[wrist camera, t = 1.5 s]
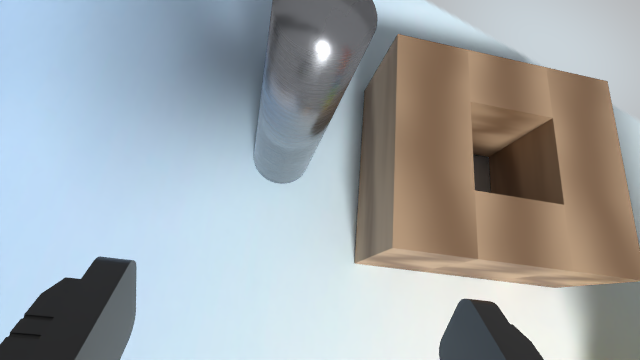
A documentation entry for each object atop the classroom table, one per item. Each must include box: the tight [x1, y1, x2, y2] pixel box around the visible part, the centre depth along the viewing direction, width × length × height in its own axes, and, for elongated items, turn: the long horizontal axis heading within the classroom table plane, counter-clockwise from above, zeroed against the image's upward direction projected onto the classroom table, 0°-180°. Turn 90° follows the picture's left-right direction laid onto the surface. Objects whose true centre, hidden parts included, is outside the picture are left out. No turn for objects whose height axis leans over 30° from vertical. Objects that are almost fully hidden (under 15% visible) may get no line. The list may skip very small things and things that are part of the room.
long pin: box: [254, 0, 377, 183], centre depth 21 cm, size 4×4×15 cm
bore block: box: [355, 34, 640, 288], centre depth 27 cm, size 16×14×7 cm
